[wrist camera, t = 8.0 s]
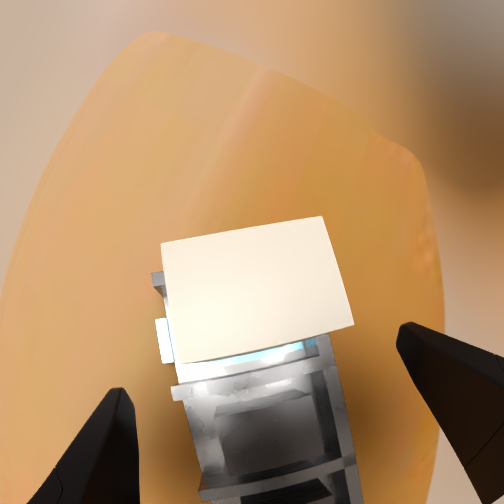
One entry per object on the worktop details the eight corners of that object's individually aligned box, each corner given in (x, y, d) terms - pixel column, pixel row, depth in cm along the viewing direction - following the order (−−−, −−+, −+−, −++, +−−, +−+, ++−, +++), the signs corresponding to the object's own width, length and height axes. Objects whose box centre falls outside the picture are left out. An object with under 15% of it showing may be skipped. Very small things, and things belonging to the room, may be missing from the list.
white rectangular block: (285, 345, 19) (354, 324, 8) (206, 362, 18) (179, 364, 8) (272, 293, 20) (321, 215, 9) (196, 308, 19) (160, 243, 9)
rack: (347, 513, 15) (374, 541, 10) (219, 544, 14) (218, 580, 9) (291, 266, 22) (308, 238, 17) (155, 291, 20) (135, 269, 16)
